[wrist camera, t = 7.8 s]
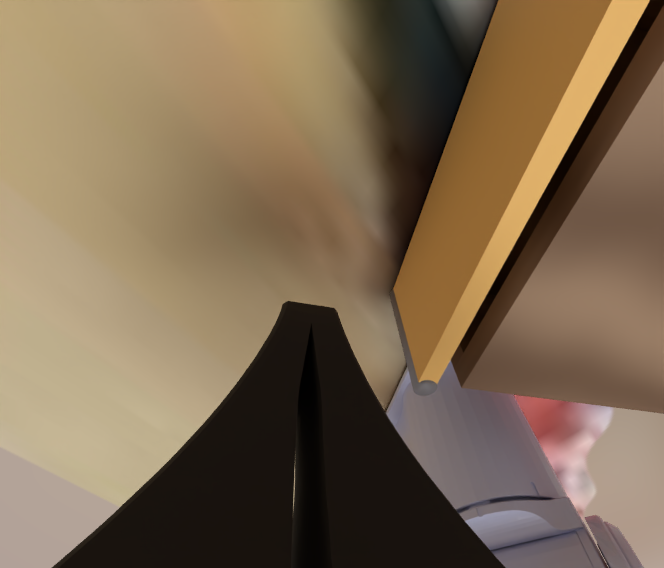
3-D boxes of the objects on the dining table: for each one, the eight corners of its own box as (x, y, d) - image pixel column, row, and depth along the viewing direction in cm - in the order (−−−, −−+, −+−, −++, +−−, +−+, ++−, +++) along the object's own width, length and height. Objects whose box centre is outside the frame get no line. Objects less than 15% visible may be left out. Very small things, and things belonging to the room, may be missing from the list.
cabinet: (578, 314, 21) (671, 414, 16) (423, 289, 20) (461, 387, 14) (788, 40, 14) (1123, 40, 8) (556, -27, 12) (753, -85, 7)
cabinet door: (404, 302, 20) (432, 397, 15) (387, 299, 20) (409, 394, 15) (536, -31, 12) (704, -90, 7) (509, -39, 12) (659, -105, 7)
